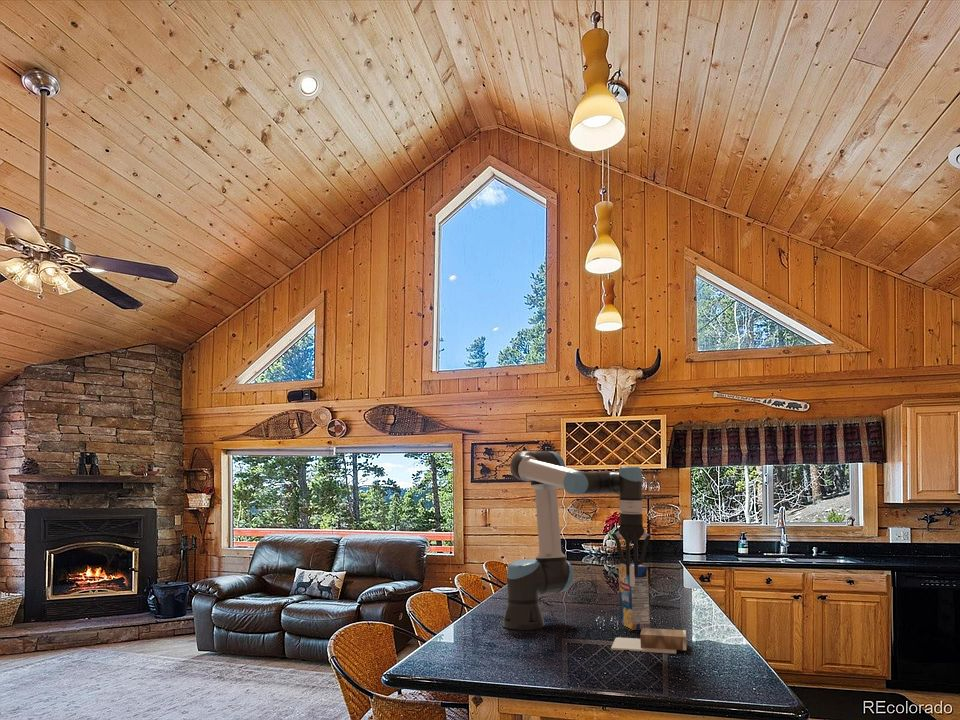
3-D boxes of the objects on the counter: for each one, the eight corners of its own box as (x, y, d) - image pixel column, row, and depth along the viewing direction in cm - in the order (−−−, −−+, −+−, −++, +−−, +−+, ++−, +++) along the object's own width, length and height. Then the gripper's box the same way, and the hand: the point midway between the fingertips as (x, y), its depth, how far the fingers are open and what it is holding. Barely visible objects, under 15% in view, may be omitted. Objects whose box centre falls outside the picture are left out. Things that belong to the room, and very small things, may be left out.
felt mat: (611, 649, 223) (611, 647, 223) (615, 639, 237) (615, 637, 237) (676, 653, 217) (676, 651, 217) (677, 642, 231) (676, 640, 232)
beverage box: (632, 631, 249) (630, 567, 253) (620, 624, 260) (618, 563, 263) (650, 630, 250) (647, 566, 254) (637, 623, 261) (635, 563, 265)
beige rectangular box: (640, 634, 223) (685, 637, 219) (642, 627, 233) (685, 630, 229) (640, 647, 223) (686, 650, 219) (642, 640, 232) (686, 643, 228)
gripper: (610, 513, 233) (611, 586, 230) (650, 514, 230) (652, 588, 226) (612, 511, 240) (613, 582, 237) (651, 512, 237) (652, 584, 234)
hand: (632, 585), depth 232 cm, fingers closed
